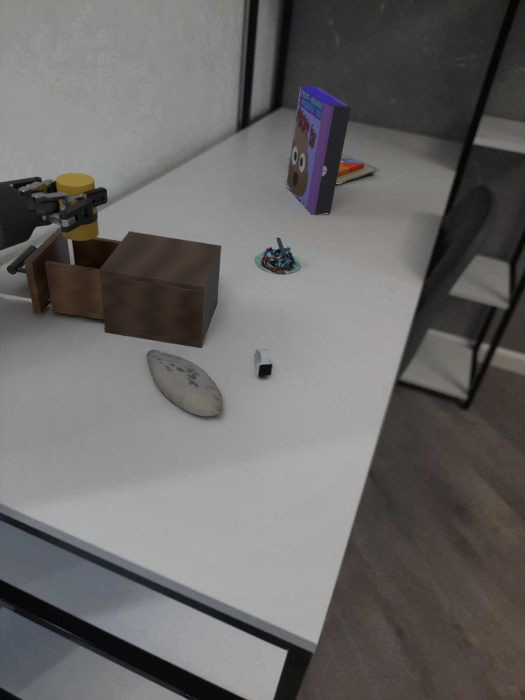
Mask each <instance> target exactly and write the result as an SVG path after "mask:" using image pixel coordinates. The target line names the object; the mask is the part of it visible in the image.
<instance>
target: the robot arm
mask: <svg viewBox="0 0 525 700" xmlns="http://www.w3.org/2000/svg"><path fill="white" fill-rule="evenodd" d="M58 200H62V206H63V208H62V210H61V211H60V204H59V201H58ZM72 201H78V202H77V203H75V204H73V205H71V202H72ZM107 203H108V189H107V188H105V187H104V186H100V187H95V189H92V190H90V191H86V192H83V193H79V194H71V195H68V194H67V193H66V192H57V187H56V180H54V179H50V178H47V179H45V180H43V178H42V177H41V176H32V177H26V178H18V179H13V180H12V179H11V180H7V181H0V251H4V250H7V249H9V248H12V247H15V246H18V245H20V244H23V243H26V242H27V241H29V240H30V239H31V237H32V235H33V233H34V231H35V229H36V228H40V227H47V226H51V225H58V226H60V228H61V231H62V232H70V231H72V230H74V229H76V228H77V227H79V226H81V225H83V224H84V223H86V222H88V221H90V220H91V219H93V218H94V215H93V208H94V207H100V206H102V205H106V204H107Z"/></svg>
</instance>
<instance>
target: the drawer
mask: <svg viewBox="0 0 525 700" xmlns="http://www.w3.org/2000/svg"><path fill="white" fill-rule="evenodd" d="M121 241H122V240H116V239H110V238H104V237H98V236H97V237H95V238H94V239H91V240H86V241H74V240H71V245H72V253H73V254H72V255H73V261H74V264H72V263H71V255H70V248H69V239H67V238H65V237H64V236H63V232H62V231H61V227H58V228H56V230H55V231H53V233H52V234H51V235H50V236H48V237H47V238H46V239H45V240H44V241H43V242H42V244H40V245H39V246H38V247H36V246H35V245H29V246H28V247H27V248H26V249H24V250H23V252H21V253H20V254H19V255H18V256H16V258H15V259H13V261H11V263H9V265H8V266H6V271H7V273H8V274H10V275H11V276H12V275H17V273H20V274H25V275H26V280H27V285H28V290H29V295H30V300H31V306H32V311H33V314H36V315H42V314H43V313H44V312H45V311H46V309H47V308H48V307H49V306H50V305H51V310H52V312H54V313H62V314H67V315H73V316H78V317H79V316H80V317H86V318H92V319H98V320H104V313H103V303H102V292H101V281H100V271H99V270H100V268H101V267H102V266H103V264H104V263H105V262H106V261H107V259H108V258H109V257H110V255H111V254H112V253H113V252H114V250H115V249H116V248H117V246H118V245H119V244H120V242H121Z"/></svg>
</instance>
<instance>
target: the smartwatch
mask: <svg viewBox="0 0 525 700" xmlns="http://www.w3.org/2000/svg"><path fill="white" fill-rule="evenodd" d="M253 356H254V357H253V361H254V362H255V363H254V365H255V371H256V375H257V376H258V377H269V376H271V375H272V372H273V369H274V364H273V362H272V360H271V356H270V353H269V351H268V349H267V348H257V349H256V350H255V351H254V355H253Z"/></svg>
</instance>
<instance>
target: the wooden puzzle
mask: <svg viewBox="0 0 525 700" xmlns="http://www.w3.org/2000/svg"><path fill="white" fill-rule="evenodd" d="M370 173H374V174H376V170H375V169H374V168H372V167H369V166H367V165H365V163H364V162H362V161H360V160H358V159H356V158H353V157H350V156H348V155H346V154H343V153H342V156H341V161H340V166H339V171H338V176H337V181H336V183H340V182H344V181H348V180H350V181H352V180H351V179H353V180H356V179H358V178H361V177H363V176H367V175H369V174H370ZM355 178H356V179H355ZM348 182H349V181H348Z"/></svg>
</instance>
